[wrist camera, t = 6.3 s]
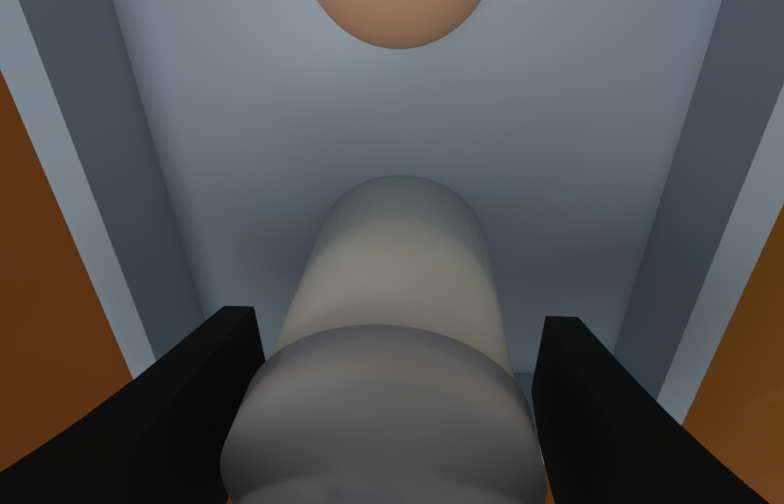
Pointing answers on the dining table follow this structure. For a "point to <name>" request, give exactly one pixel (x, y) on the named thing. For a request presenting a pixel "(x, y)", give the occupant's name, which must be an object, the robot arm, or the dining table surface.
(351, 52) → the tray
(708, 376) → the dining table surface
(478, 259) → the shaker
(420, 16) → the ball
